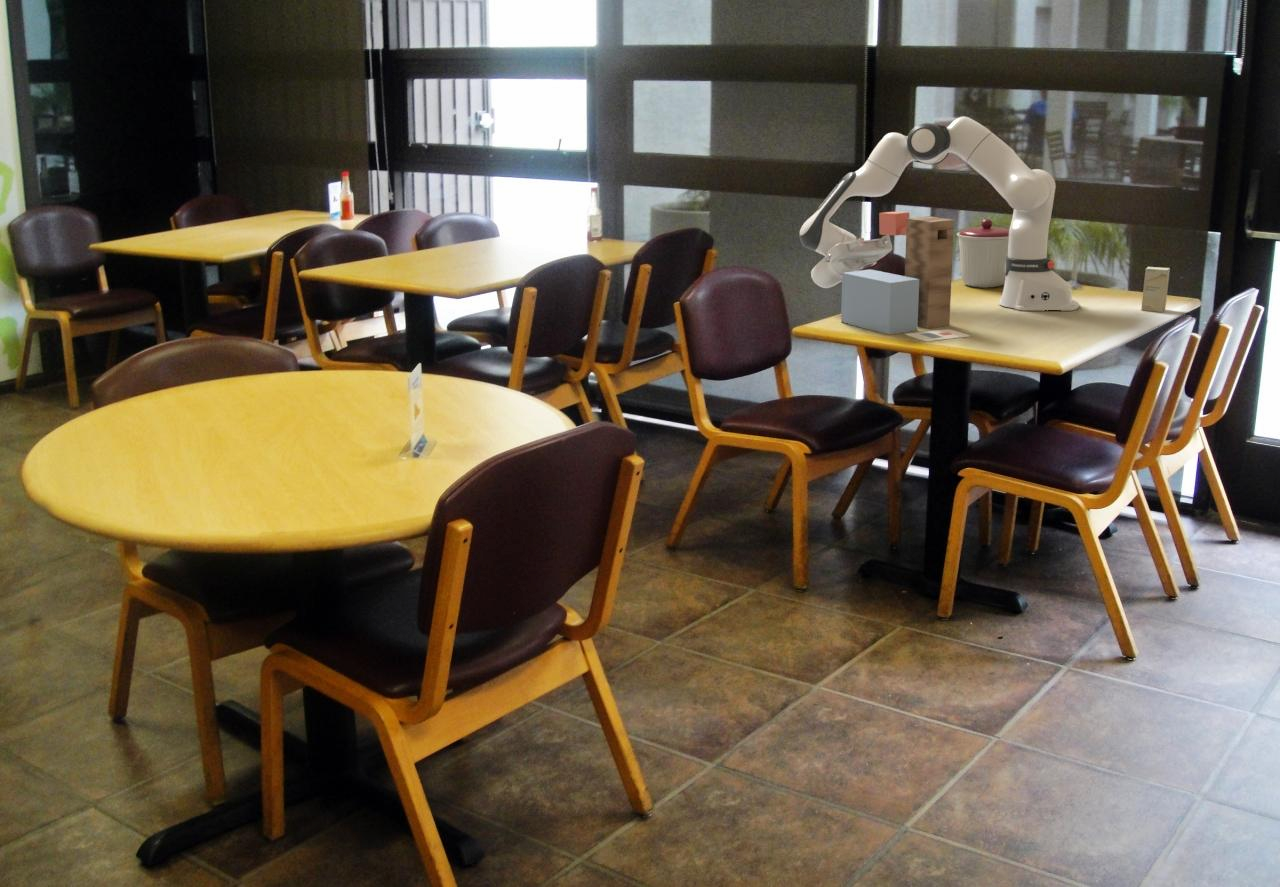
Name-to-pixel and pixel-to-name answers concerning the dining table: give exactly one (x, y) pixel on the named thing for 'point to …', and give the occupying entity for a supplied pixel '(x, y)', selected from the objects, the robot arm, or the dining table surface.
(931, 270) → the stand
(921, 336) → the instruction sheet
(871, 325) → the base block
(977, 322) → the dining table surface
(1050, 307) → the robot arm
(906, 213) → the peg brick
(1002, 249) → the canister
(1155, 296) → the skincare box
